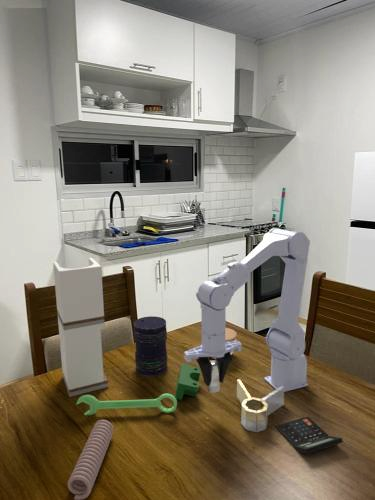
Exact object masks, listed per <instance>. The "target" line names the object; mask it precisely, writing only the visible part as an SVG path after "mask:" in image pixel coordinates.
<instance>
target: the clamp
mask: <svg viewBox="0 0 375 500" xmlns="http://www.w3.org/2000/svg"><path fill="white" fill-rule="evenodd" d="M200 375H201V369H200V367H199V366H198V367H197V366H194V365H189V364H186V363H181V365H180V369H179V373H178V375H177V380H176V381H177V382H176V387H175V394H174V397H175V398H176V400H180V401H182V400H183V397H184V395H187V396H191V397H197V394H198V391H199V388H200V387H201V386H200V384H201V381H199V379H200V377H201V376H200Z"/></svg>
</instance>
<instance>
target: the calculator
mask: <svg viewBox="0 0 375 500" xmlns="http://www.w3.org/2000/svg"><path fill="white" fill-rule="evenodd" d="M274 428H275V429H276V431H278V432H279V434H281V435H282V437H283V438H284V439H285V440H286V441H287V442H288V443H289V444H290V446H292V447H293V449H294V450H295V452H296V451H297V452H300V453H302V454H303V453H304V454H306V455H307V454H311V453H314V452H317V451H320V450H324V449H326V448H330V447H332V446H335V445H336V446H337V445H338V444H342V443H343V442H344V441H343V438H342V437H338V436H333V435H329V434H328V433H326V431H325V430H323V429H322V427H320V426H319V424H317V423H316V422H315V421H314V420H312V418H310V417H309V416H304V417H301V418H298V419H295V420H291V421H287V422H286V421H285V422H284V423H280V424H276V425H275V426H274Z"/></svg>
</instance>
